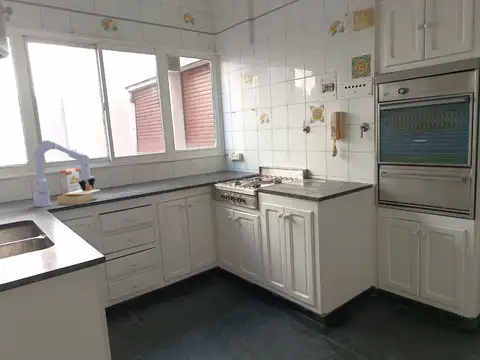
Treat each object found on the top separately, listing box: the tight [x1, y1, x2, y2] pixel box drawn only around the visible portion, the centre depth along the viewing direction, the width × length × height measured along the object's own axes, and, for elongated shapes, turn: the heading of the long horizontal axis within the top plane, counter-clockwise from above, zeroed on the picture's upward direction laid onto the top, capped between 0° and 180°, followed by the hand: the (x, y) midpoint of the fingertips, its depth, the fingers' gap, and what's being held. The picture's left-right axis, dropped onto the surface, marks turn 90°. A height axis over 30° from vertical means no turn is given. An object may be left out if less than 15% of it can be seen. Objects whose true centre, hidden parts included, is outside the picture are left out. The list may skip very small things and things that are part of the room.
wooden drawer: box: [56, 193, 94, 205], centre depth 231 cm, size 17×14×5 cm
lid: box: [66, 184, 101, 194], centre depth 238 cm, size 18×14×4 cm
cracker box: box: [59, 167, 82, 196], centre depth 256 cm, size 14×6×21 cm, turn 168°
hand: (87, 189), depth 243 cm, fingers open, 7 cm apart
